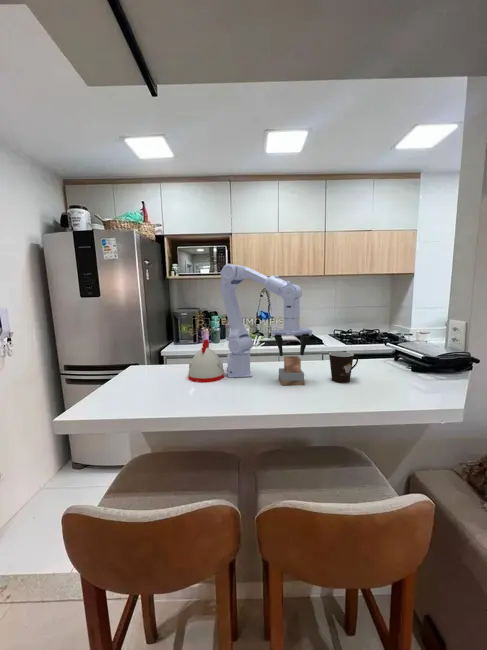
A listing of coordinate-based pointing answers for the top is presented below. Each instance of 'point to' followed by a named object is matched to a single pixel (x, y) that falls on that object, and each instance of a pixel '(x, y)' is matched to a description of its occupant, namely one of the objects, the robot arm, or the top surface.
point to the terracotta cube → (292, 364)
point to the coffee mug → (341, 366)
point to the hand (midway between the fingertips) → (291, 355)
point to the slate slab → (290, 375)
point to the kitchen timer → (206, 366)
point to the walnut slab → (292, 382)
